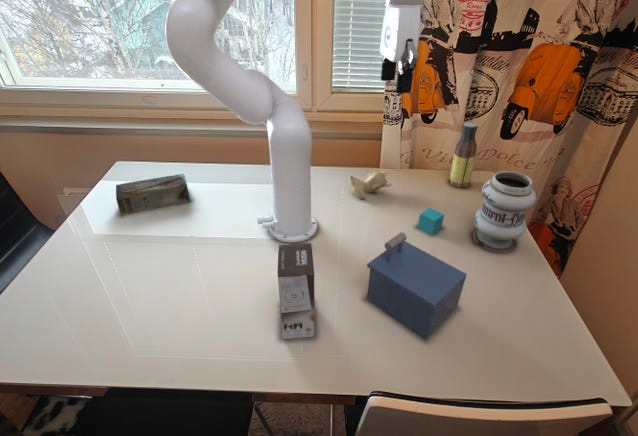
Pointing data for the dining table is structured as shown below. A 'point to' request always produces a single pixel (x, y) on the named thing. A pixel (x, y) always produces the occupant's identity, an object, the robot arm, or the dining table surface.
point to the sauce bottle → (464, 156)
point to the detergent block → (430, 221)
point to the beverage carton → (152, 193)
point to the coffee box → (296, 290)
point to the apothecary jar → (503, 210)
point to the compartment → (411, 305)
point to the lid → (416, 271)
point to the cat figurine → (369, 183)
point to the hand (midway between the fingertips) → (394, 86)
